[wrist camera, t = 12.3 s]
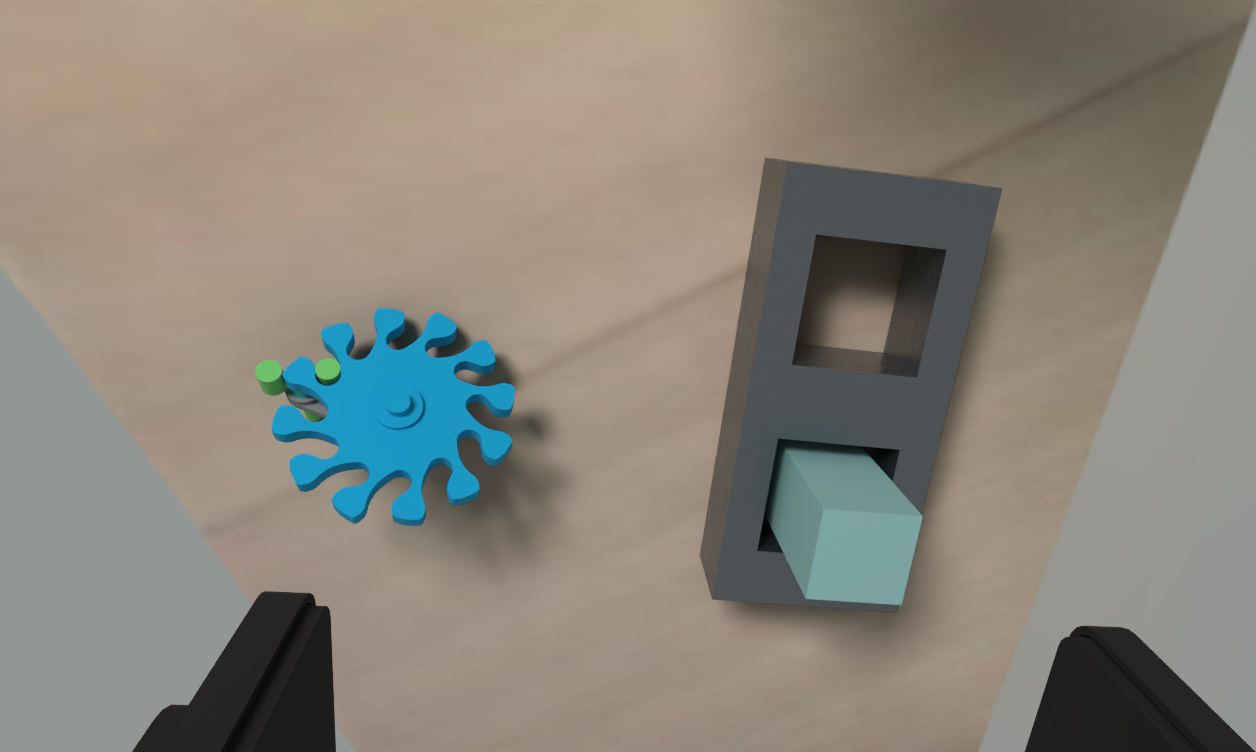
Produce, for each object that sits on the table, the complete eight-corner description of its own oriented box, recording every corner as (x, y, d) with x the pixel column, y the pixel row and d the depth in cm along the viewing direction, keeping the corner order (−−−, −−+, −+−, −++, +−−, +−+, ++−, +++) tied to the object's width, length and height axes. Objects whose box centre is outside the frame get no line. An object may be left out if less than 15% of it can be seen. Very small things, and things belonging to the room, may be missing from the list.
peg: (770, 426, 40) (823, 508, 31) (848, 432, 40) (922, 516, 31) (757, 499, 41) (805, 598, 32) (833, 505, 41) (901, 605, 33)
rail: (765, 157, 36) (787, 161, 32) (958, 182, 37) (1002, 188, 33) (700, 555, 42) (712, 599, 38) (868, 568, 42) (896, 612, 39)
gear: (551, 348, 36) (461, 554, 31) (538, 404, 41) (459, 589, 36) (319, 259, 36) (192, 453, 31) (335, 327, 41) (228, 502, 36)
